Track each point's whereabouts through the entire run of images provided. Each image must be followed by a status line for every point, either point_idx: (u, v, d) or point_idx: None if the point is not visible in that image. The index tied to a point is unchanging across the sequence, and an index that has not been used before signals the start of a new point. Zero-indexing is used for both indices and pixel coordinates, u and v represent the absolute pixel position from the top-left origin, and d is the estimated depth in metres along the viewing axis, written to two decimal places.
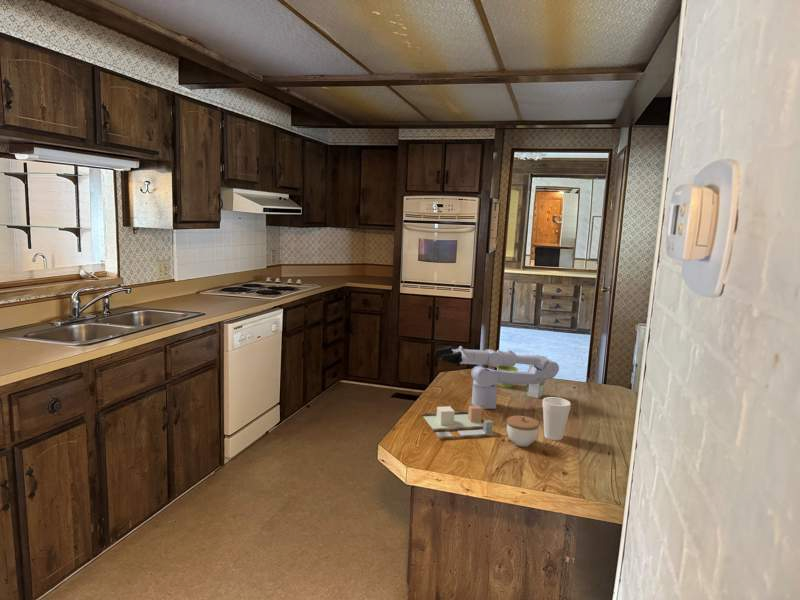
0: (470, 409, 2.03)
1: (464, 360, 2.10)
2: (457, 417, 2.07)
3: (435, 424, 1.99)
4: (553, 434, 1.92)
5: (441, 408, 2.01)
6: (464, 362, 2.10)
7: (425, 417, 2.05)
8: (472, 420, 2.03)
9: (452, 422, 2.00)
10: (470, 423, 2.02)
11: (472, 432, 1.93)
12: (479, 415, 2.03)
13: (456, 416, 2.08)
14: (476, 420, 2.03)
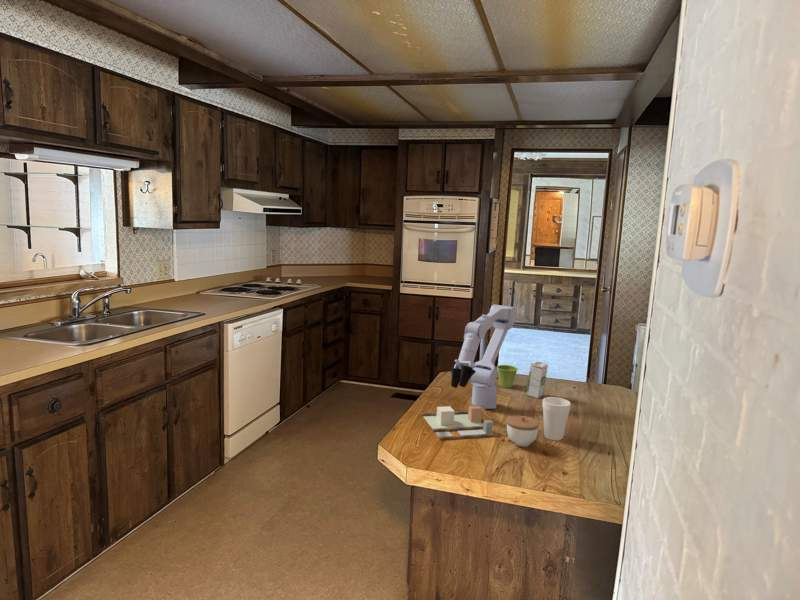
0: (470, 409, 2.03)
1: (471, 365, 2.00)
2: (457, 417, 2.07)
3: (435, 424, 1.99)
4: (553, 434, 1.92)
5: (441, 408, 2.01)
6: (473, 365, 2.00)
7: (425, 417, 2.05)
8: (472, 420, 2.03)
9: (452, 422, 2.00)
10: (470, 423, 2.02)
11: (472, 432, 1.93)
12: (479, 415, 2.03)
13: (456, 416, 2.08)
14: (476, 420, 2.03)
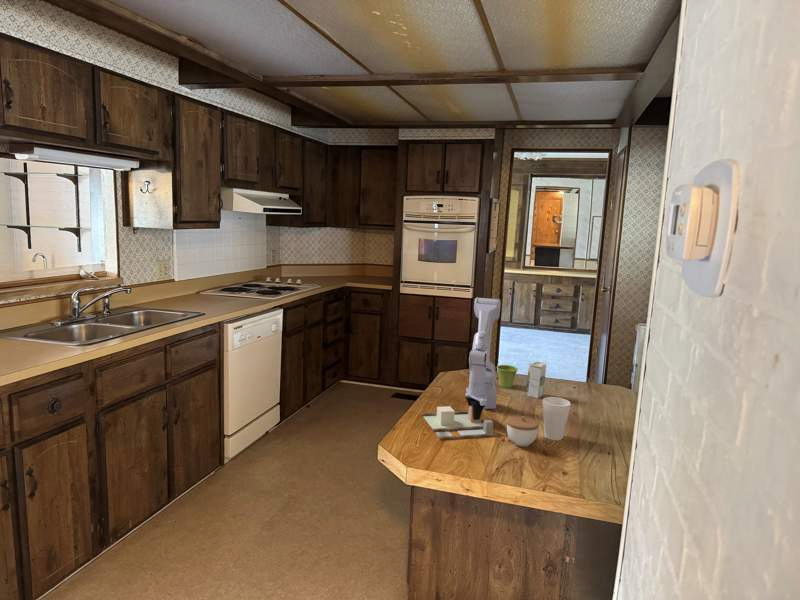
0: (470, 409, 2.03)
1: (483, 403, 1.96)
2: (457, 417, 2.07)
3: (435, 424, 1.99)
4: (553, 434, 1.92)
5: (441, 408, 2.01)
6: (485, 403, 1.96)
7: (425, 417, 2.05)
8: (472, 420, 2.03)
9: (452, 422, 2.00)
10: (470, 423, 2.02)
11: (472, 432, 1.93)
12: None
13: (456, 416, 2.08)
14: (476, 420, 2.03)
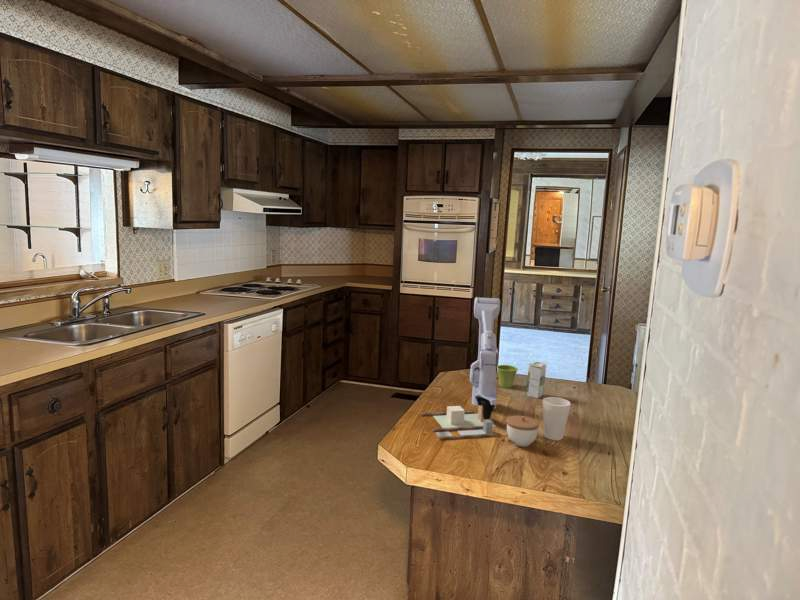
0: (480, 408, 2.04)
1: (493, 403, 1.97)
2: (467, 416, 2.08)
3: (445, 423, 2.00)
4: (553, 434, 1.92)
5: (451, 407, 2.02)
6: (495, 402, 1.97)
7: (435, 416, 2.06)
8: (482, 419, 2.04)
9: (462, 421, 2.01)
10: (480, 422, 2.02)
11: (472, 432, 1.93)
12: None
13: (466, 415, 2.09)
14: (486, 419, 2.04)
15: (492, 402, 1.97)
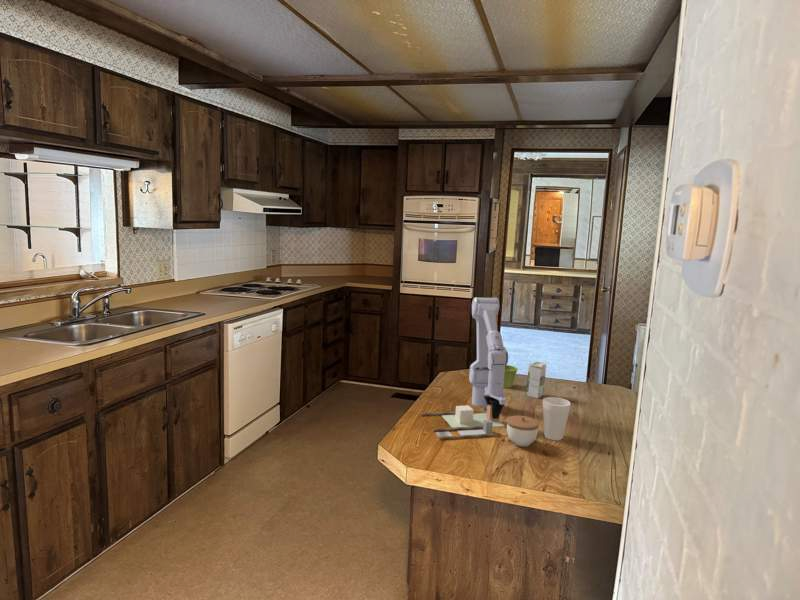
0: (488, 408, 2.05)
1: (502, 402, 1.98)
2: (476, 416, 2.09)
3: (454, 423, 2.01)
4: (553, 434, 1.92)
5: (460, 407, 2.03)
6: (504, 402, 1.98)
7: (444, 416, 2.07)
8: (490, 419, 2.05)
9: (471, 421, 2.02)
10: None
11: (472, 432, 1.93)
12: None
13: (474, 415, 2.10)
14: (495, 419, 2.05)
15: (501, 402, 1.98)
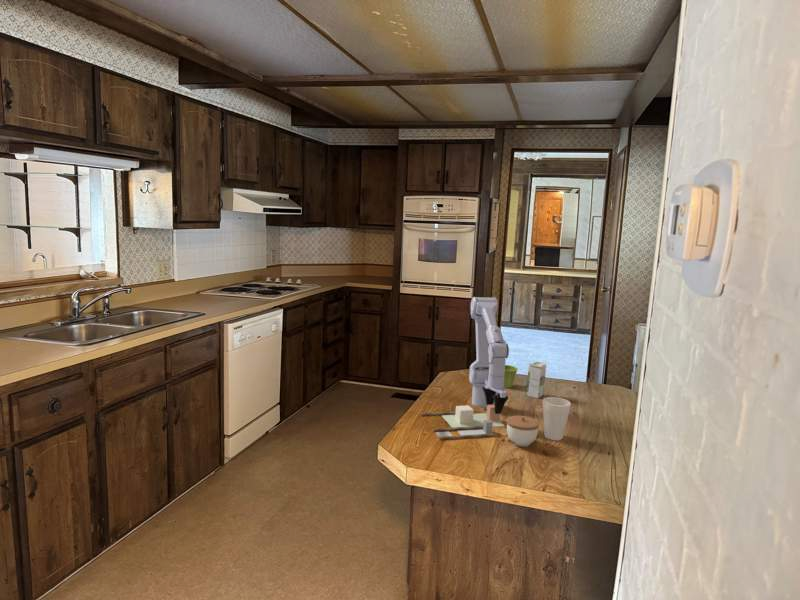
0: (488, 408, 2.05)
1: (503, 395, 1.98)
2: (476, 416, 2.09)
3: (454, 423, 2.01)
4: (553, 434, 1.92)
5: (460, 407, 2.03)
6: (505, 395, 1.98)
7: (444, 416, 2.07)
8: (491, 419, 2.05)
9: (471, 421, 2.02)
10: None
11: (472, 432, 1.93)
12: (497, 414, 2.05)
13: (474, 415, 2.10)
14: (495, 419, 2.05)
15: (502, 395, 1.98)
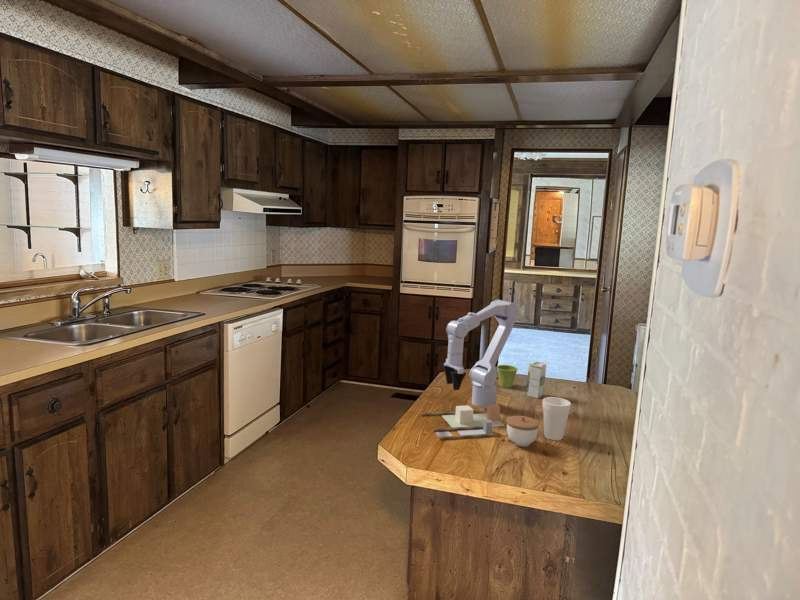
0: (488, 408, 2.05)
1: (460, 371, 2.05)
2: (476, 416, 2.09)
3: (454, 423, 2.01)
4: (553, 434, 1.92)
5: (460, 407, 2.03)
6: (462, 371, 2.05)
7: (444, 416, 2.07)
8: (491, 419, 2.05)
9: (471, 421, 2.02)
10: None
11: (472, 432, 1.93)
12: (497, 414, 2.05)
13: (474, 415, 2.10)
14: (495, 419, 2.05)
15: (459, 371, 2.05)
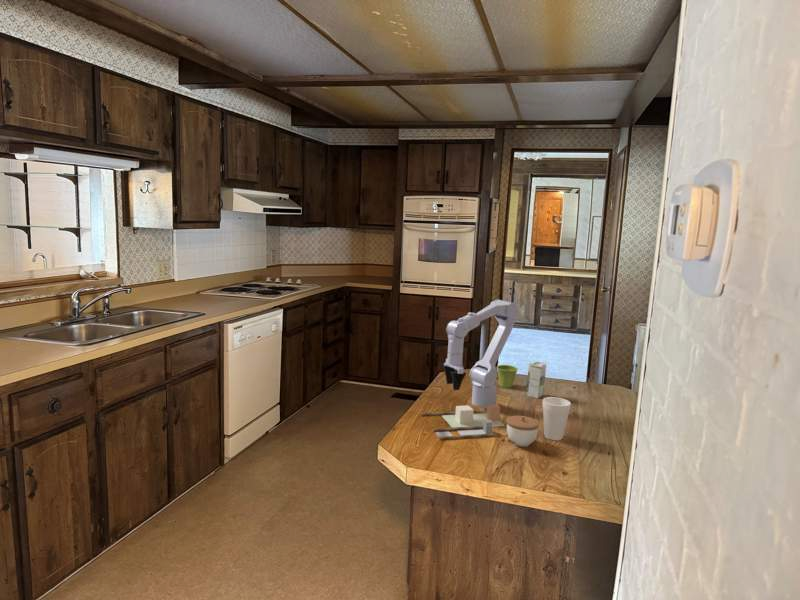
0: (488, 408, 2.05)
1: (460, 371, 2.05)
2: (476, 416, 2.09)
3: (454, 423, 2.01)
4: (553, 434, 1.92)
5: (460, 407, 2.03)
6: (462, 371, 2.05)
7: (444, 416, 2.07)
8: (491, 419, 2.05)
9: (471, 421, 2.02)
10: None
11: (472, 432, 1.93)
12: (497, 414, 2.05)
13: (474, 415, 2.10)
14: (495, 419, 2.05)
15: (459, 371, 2.05)
